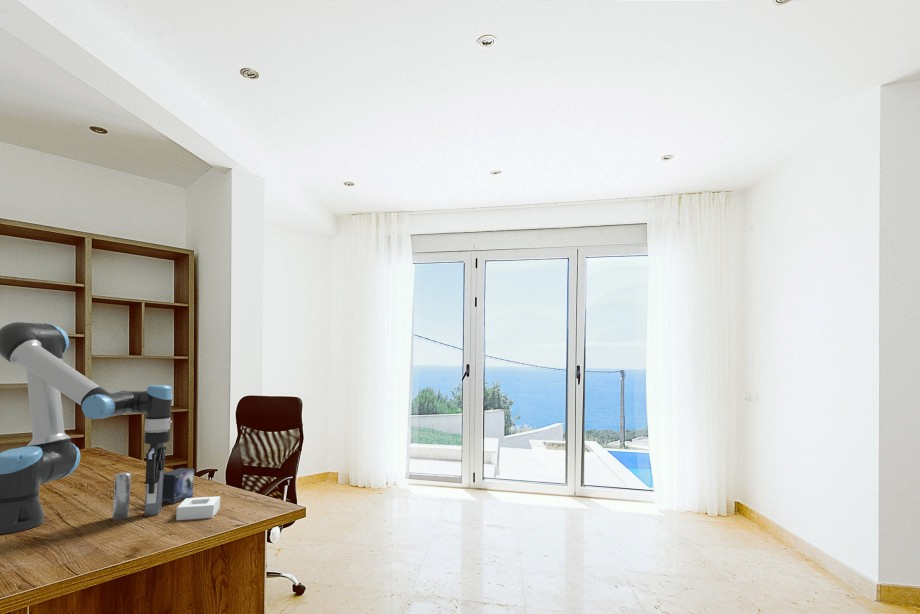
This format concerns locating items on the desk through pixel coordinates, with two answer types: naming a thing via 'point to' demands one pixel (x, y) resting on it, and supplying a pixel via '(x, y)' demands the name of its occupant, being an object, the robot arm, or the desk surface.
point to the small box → (177, 485)
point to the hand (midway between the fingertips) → (153, 500)
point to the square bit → (157, 507)
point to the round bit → (121, 496)
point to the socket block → (198, 508)
